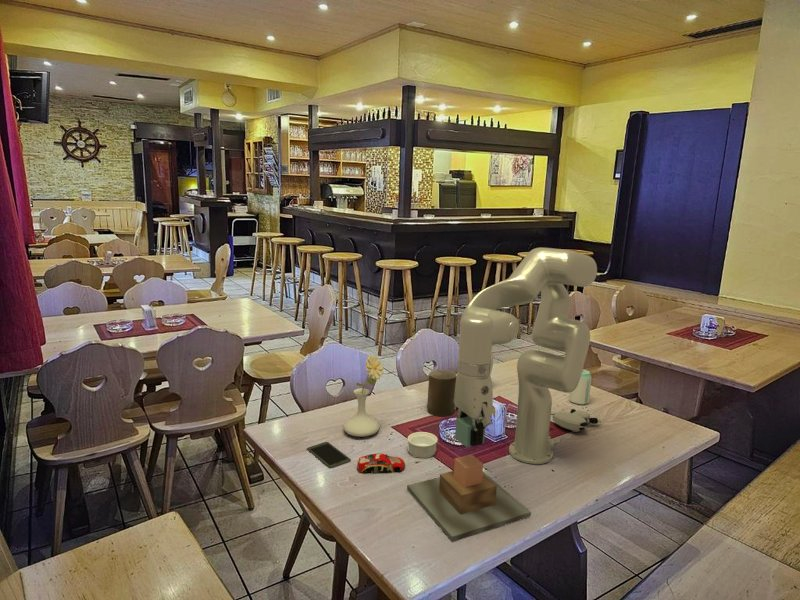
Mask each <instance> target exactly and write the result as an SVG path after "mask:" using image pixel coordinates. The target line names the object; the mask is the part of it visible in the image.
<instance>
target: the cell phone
mask: <svg viewBox="0 0 800 600" xmlns="http://www.w3.org/2000/svg"><path fill="white" fill-rule="evenodd" d="M307 450H308V451H309V454H311V453H312V454H313V455H314V456H315V459H317V458H318V459H319V460H320V461H319V460H318V459H317V460H318V461H319V462H320V463H322V464H323V465H324V466H325V467H326V468H327V469H335V468H337V467H340V466H343V465H346V464H348V463H350V462H352V459H351V458H350V457H349V456H347V455H346V454H345V453H343V452H342V451H341V450H340V449H339V448H337V447H336V446H334V444H333V445H332V444H331V443H330V442H329V441H324V442H320V443H318V444H315V445H311V446H308V447H306V451H307ZM308 451H307V452H308ZM312 454H311V455H312ZM313 455H312V456H313ZM314 456H313V457H314Z"/></svg>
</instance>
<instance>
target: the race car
mask: <svg viewBox="0 0 800 600" xmlns="http://www.w3.org/2000/svg"><path fill="white" fill-rule="evenodd" d="M405 468H406V463H405V461H404V459H402V458H401V457H398V456H392V455H391V456H390V455H388V454H387V453H386V454H385V453H372V454H366V455H363V456H360V457H359V458H358V460H357V471H358V472H361V473H363V474H367V475H369V474H372V473H373V474H374V473H375V474H379V473H397V474H399V473H401V472H403V471H404V469H405Z"/></svg>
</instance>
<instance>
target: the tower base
mask: <svg viewBox="0 0 800 600" xmlns="http://www.w3.org/2000/svg"><path fill="white" fill-rule="evenodd" d="M406 489H407V491H408V493H409V494H410V495H411V496H412V497H413V498H414V499H415V500H416V502H417V503H418V504H419V505H420V507H422V509H423V510H424V511H425V512H426V513H427V514H428V516H430V518H431V519H432V520H433V521H434V523H435V524H436V526H438V527H439V529H440V530H441V531H442V532H443V533H444V534H445V535H446V537H447V538H449V540H450V541H451V542H454V541H455V542H456V541H458V540H461V539H465V538H468V537H470V536H474V535H477V534H480V533H483V532H486V531H489V530H493V529H495V528H496V529H497V528H499V527H502V526H506V525H509V524H511V522H512V523H514V522H518V521H521V520H524V519H527V517H528V518H530V516H532V515H531V514H532V511H531V510H529V509H528V508H527V507H526V506H525V505H523V504H522V503H521V502H520V501H519V500H517V499H516V498H515V497H514V496H513V495H511V494H510V492H508V491H507V490H505V489H504V488H503V487H502V486H501V485H500V484H499V483H497V482H496V481H495V480H494V479H493V478H492V477H490V476H489V475H488V474H486V472H484V471H483V476H482V483H479V484H476V485H472V486H468V487H464V486H463V485H462V484H461V483H460V482H459V481H457V480H456V479H455V478H454V470H451V471H447V472H444V473H440V474H439V477H434V478H431V479H427V480H424V481H419V482H416V483H415V482H414V483H411V484H408V485H407V486H406ZM523 518H524V519H523ZM520 519H521V520H520ZM508 523H509V524H508ZM505 524H506V525H505Z"/></svg>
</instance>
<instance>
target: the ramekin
mask: <svg viewBox="0 0 800 600" xmlns="http://www.w3.org/2000/svg"><path fill="white" fill-rule="evenodd" d="M406 439H407V443H408V452H409V454H410V455H411V456H413V457H415V458H418V459H427V458H432V457H433V456H434V455H435V454H436V450H437V443H438V440H439V439H438V437H437V436H436V435H435V434H434V433H430V432H426V431H416V432H413V433H411V434H409V435H408V436H407V438H406Z"/></svg>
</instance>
